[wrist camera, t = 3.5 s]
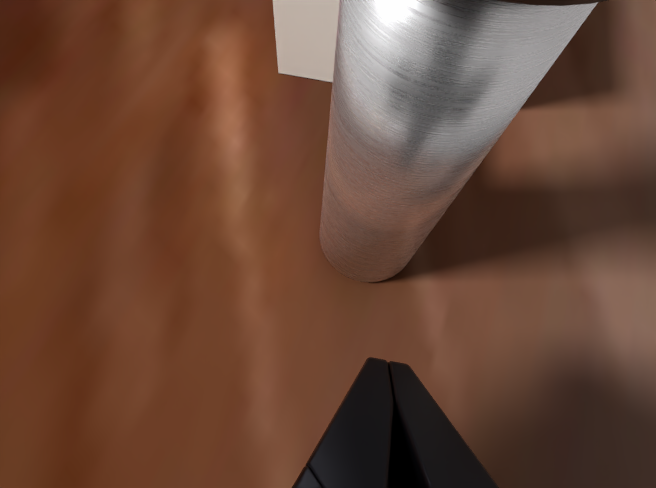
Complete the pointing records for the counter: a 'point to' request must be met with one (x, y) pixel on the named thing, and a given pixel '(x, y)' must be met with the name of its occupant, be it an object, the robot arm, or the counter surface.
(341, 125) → the silver jar
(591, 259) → the counter surface
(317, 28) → the block
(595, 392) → the counter surface
